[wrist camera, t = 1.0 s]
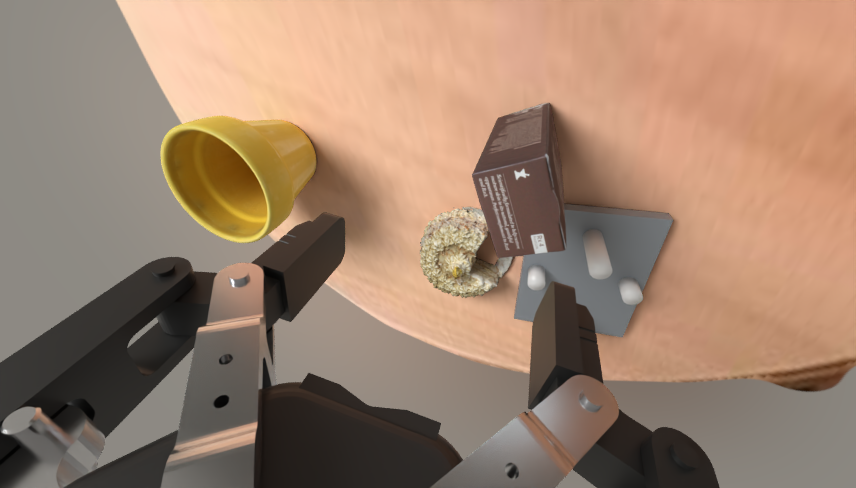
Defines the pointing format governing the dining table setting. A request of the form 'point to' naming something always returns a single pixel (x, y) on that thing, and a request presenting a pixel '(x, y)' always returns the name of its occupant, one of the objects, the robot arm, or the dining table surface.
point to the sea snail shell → (459, 254)
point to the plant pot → (237, 173)
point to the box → (523, 184)
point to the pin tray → (623, 256)
